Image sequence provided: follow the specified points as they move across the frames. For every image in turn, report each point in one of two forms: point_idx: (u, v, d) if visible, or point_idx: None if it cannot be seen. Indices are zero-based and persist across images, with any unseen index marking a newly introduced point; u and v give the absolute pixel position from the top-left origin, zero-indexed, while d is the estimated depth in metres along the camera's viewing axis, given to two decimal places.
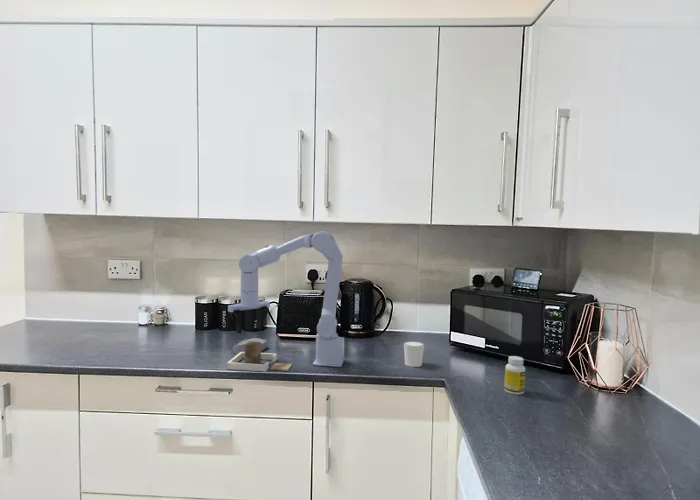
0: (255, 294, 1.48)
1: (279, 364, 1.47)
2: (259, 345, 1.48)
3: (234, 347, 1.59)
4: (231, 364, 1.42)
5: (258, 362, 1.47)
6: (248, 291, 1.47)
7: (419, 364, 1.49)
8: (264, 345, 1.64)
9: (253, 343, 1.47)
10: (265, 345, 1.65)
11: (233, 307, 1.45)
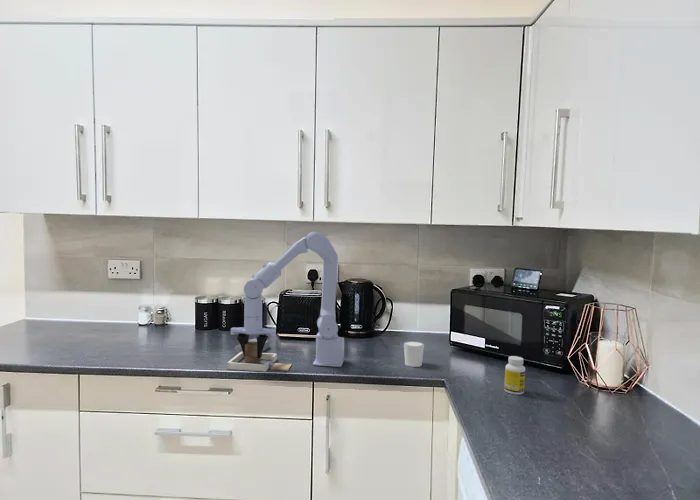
0: (252, 320, 1.44)
1: (279, 364, 1.47)
2: None
3: (236, 347, 1.59)
4: (231, 364, 1.42)
5: (258, 362, 1.47)
6: (245, 316, 1.44)
7: (419, 364, 1.49)
8: (266, 345, 1.64)
9: (253, 343, 1.47)
10: (267, 345, 1.65)
11: (233, 330, 1.47)
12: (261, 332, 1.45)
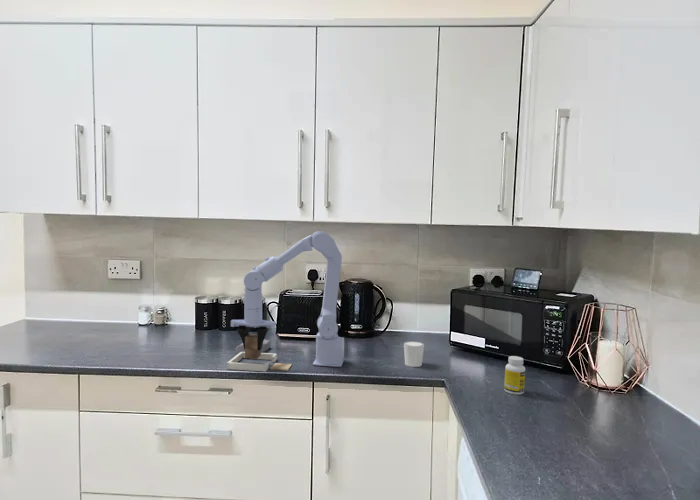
0: (252, 312, 1.44)
1: (279, 364, 1.47)
2: None
3: (237, 347, 1.58)
4: (231, 364, 1.42)
5: (258, 354, 1.47)
6: (246, 308, 1.44)
7: (419, 364, 1.49)
8: (267, 345, 1.64)
9: (253, 335, 1.47)
10: (268, 345, 1.65)
11: (233, 322, 1.46)
12: (261, 324, 1.44)
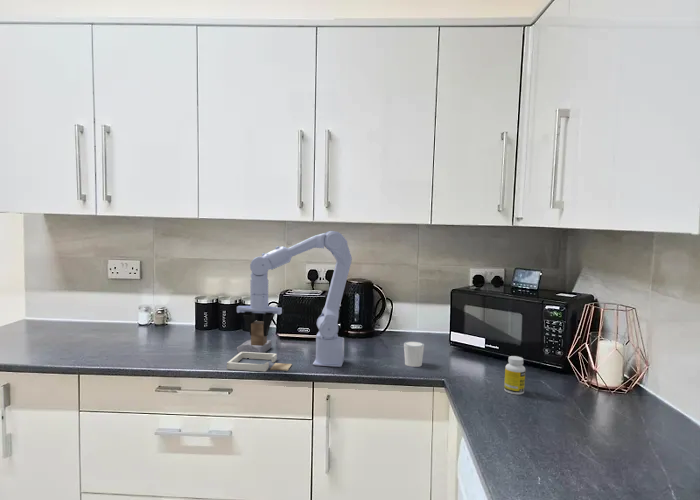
0: (258, 298, 1.43)
1: (279, 364, 1.47)
2: None
3: (238, 347, 1.58)
4: (231, 364, 1.42)
5: (264, 341, 1.46)
6: (252, 294, 1.43)
7: (419, 364, 1.49)
8: (268, 345, 1.64)
9: (259, 322, 1.46)
10: (269, 345, 1.65)
11: (239, 308, 1.46)
12: (267, 310, 1.44)
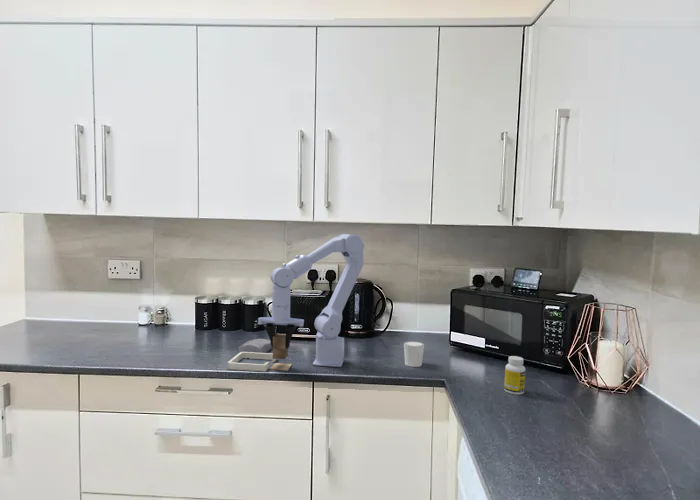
0: (281, 310, 1.41)
1: (279, 364, 1.47)
2: None
3: (240, 348, 1.58)
4: (231, 364, 1.42)
5: (286, 355, 1.44)
6: (274, 306, 1.42)
7: (419, 364, 1.49)
8: (270, 345, 1.64)
9: (281, 335, 1.44)
10: (270, 345, 1.65)
11: (260, 320, 1.44)
12: (290, 322, 1.42)
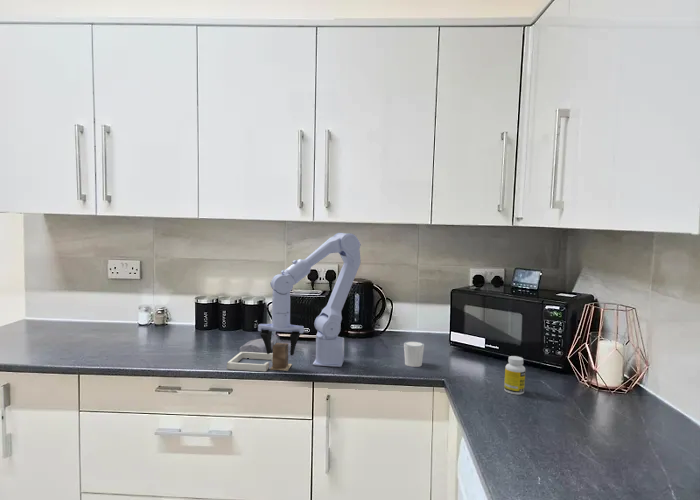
0: (281, 317, 1.41)
1: None
2: (287, 347, 1.45)
3: (241, 348, 1.58)
4: (231, 364, 1.42)
5: (286, 364, 1.44)
6: (274, 312, 1.42)
7: (419, 364, 1.49)
8: (271, 345, 1.64)
9: (281, 344, 1.44)
10: (272, 345, 1.65)
11: (260, 326, 1.44)
12: (290, 328, 1.42)
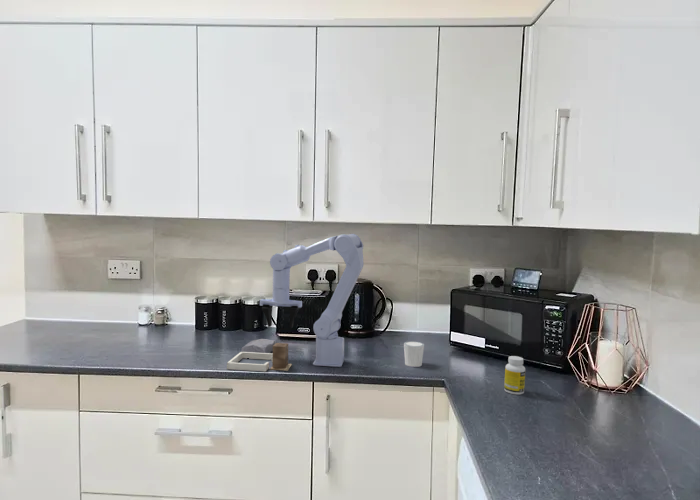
0: (281, 292, 1.53)
1: None
2: (287, 347, 1.45)
3: (243, 348, 1.58)
4: (231, 364, 1.42)
5: (286, 364, 1.44)
6: (274, 288, 1.53)
7: (419, 364, 1.49)
8: None
9: (281, 344, 1.44)
10: None
11: (262, 301, 1.55)
12: (289, 303, 1.53)
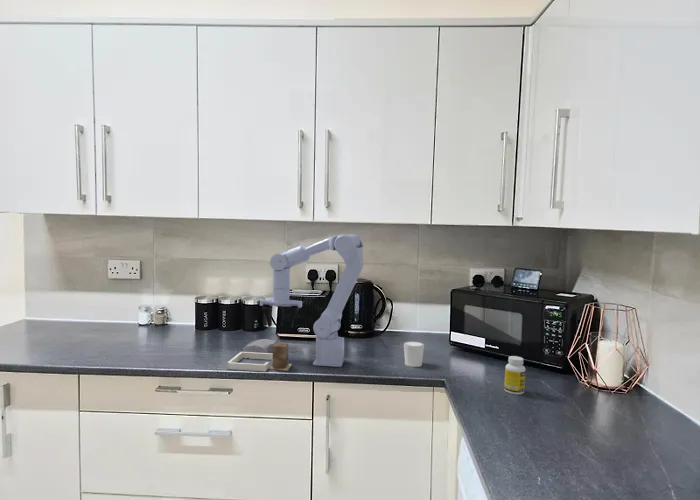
0: (281, 292, 1.53)
1: None
2: (287, 347, 1.45)
3: (244, 348, 1.58)
4: (231, 364, 1.42)
5: (286, 364, 1.44)
6: (274, 288, 1.53)
7: (419, 364, 1.49)
8: None
9: (281, 344, 1.44)
10: None
11: (262, 301, 1.55)
12: (289, 303, 1.53)
